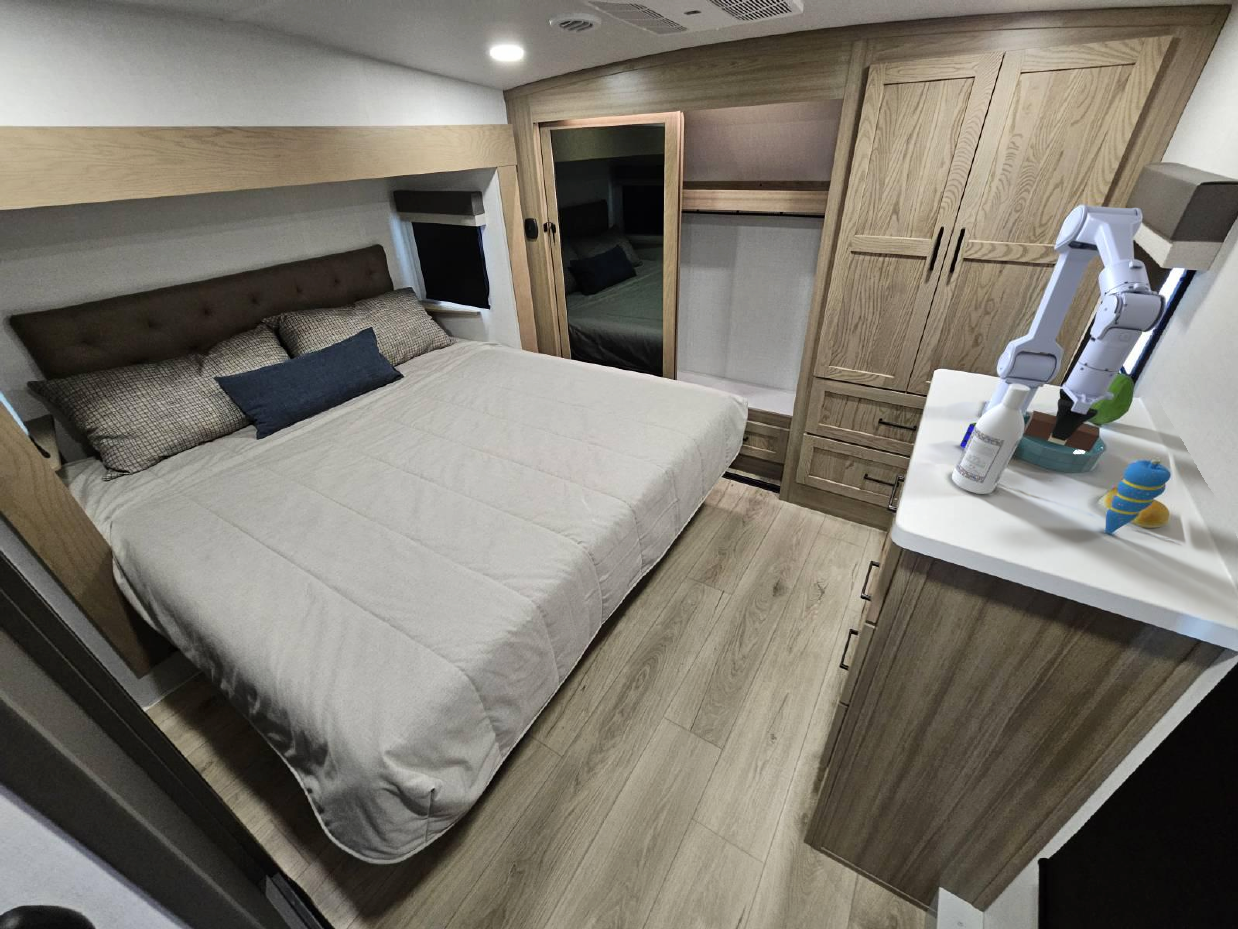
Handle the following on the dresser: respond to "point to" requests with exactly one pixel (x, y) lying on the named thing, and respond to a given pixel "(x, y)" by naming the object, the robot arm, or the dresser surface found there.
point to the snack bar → (1043, 428)
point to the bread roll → (1148, 517)
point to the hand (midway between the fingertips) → (1058, 433)
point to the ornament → (1136, 492)
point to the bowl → (1058, 454)
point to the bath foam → (992, 443)
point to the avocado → (1115, 401)
